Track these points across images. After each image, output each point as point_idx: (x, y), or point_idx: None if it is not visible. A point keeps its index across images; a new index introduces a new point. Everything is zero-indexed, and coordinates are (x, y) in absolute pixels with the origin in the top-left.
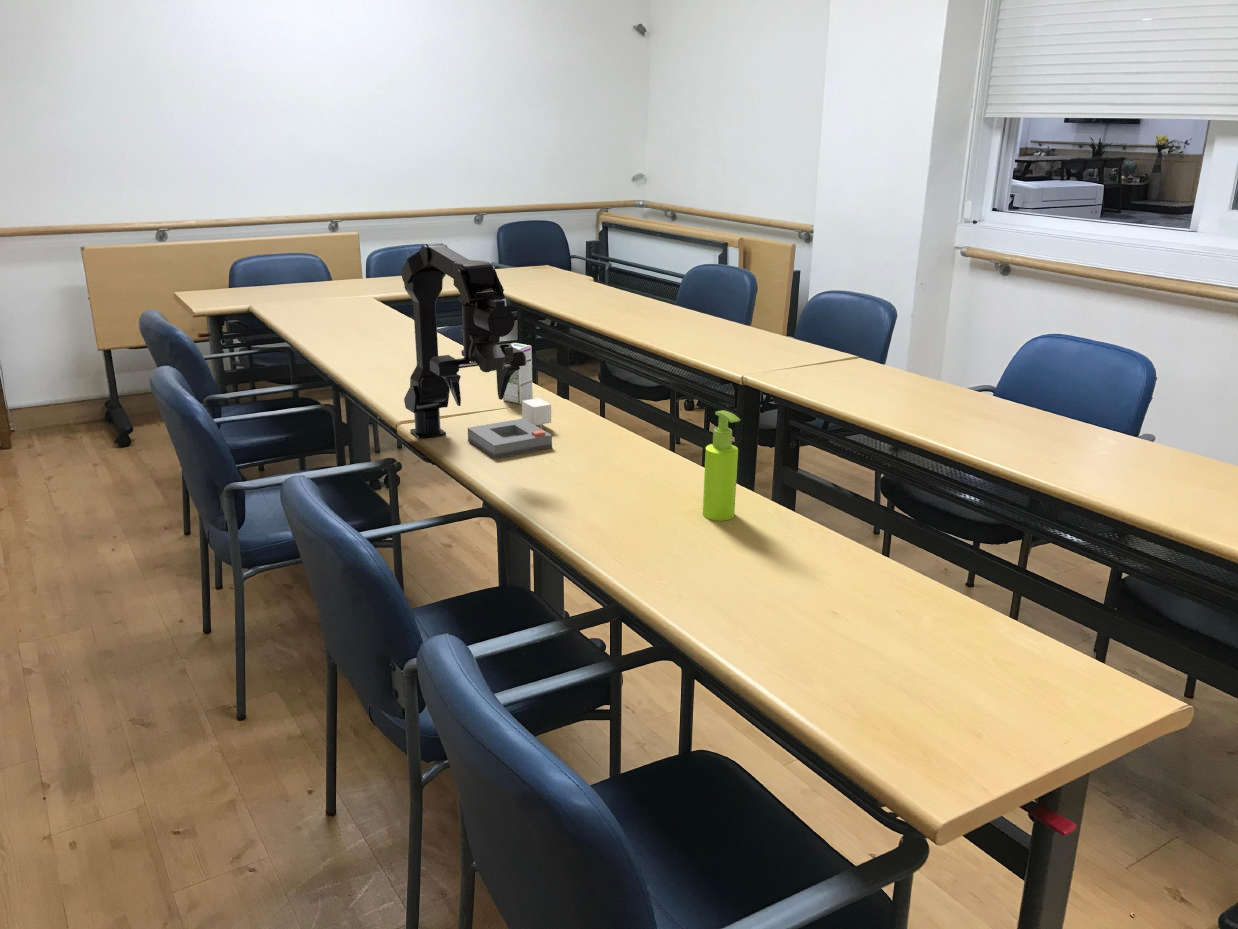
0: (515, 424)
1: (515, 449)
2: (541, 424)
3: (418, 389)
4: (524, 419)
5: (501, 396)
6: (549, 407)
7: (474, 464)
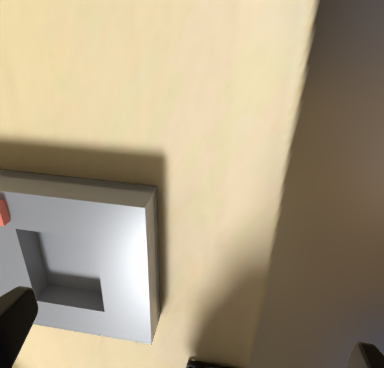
0: None
1: (85, 186)
2: None
3: None
4: None
5: (10, 301)
6: None
7: (227, 180)
